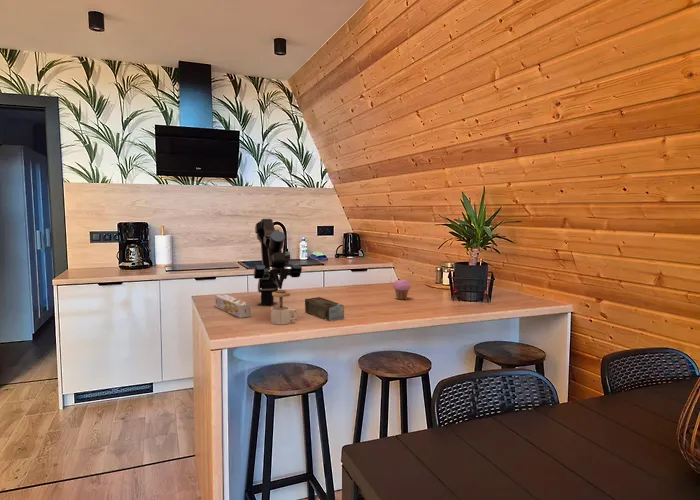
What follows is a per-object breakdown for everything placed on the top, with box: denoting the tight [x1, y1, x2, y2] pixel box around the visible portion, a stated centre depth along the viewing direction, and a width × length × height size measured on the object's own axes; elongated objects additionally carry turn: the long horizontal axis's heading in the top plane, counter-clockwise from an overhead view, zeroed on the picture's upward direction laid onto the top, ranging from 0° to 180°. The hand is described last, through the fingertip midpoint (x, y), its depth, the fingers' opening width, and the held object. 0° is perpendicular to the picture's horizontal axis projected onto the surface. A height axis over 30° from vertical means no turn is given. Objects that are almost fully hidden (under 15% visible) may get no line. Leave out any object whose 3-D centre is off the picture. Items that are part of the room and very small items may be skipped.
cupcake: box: [392, 278, 411, 300], centre depth 229 cm, size 9×9×10 cm
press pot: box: [270, 305, 297, 326], centre depth 179 cm, size 10×8×6 cm
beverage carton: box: [304, 296, 345, 322], centre depth 191 cm, size 8×19×7 cm, turn 36°
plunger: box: [272, 289, 291, 308], centre depth 178 cm, size 7×7×7 cm
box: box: [214, 294, 252, 319], centre depth 196 cm, size 27×5×6 cm, turn 37°
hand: (280, 288), depth 179 cm, fingers closed
